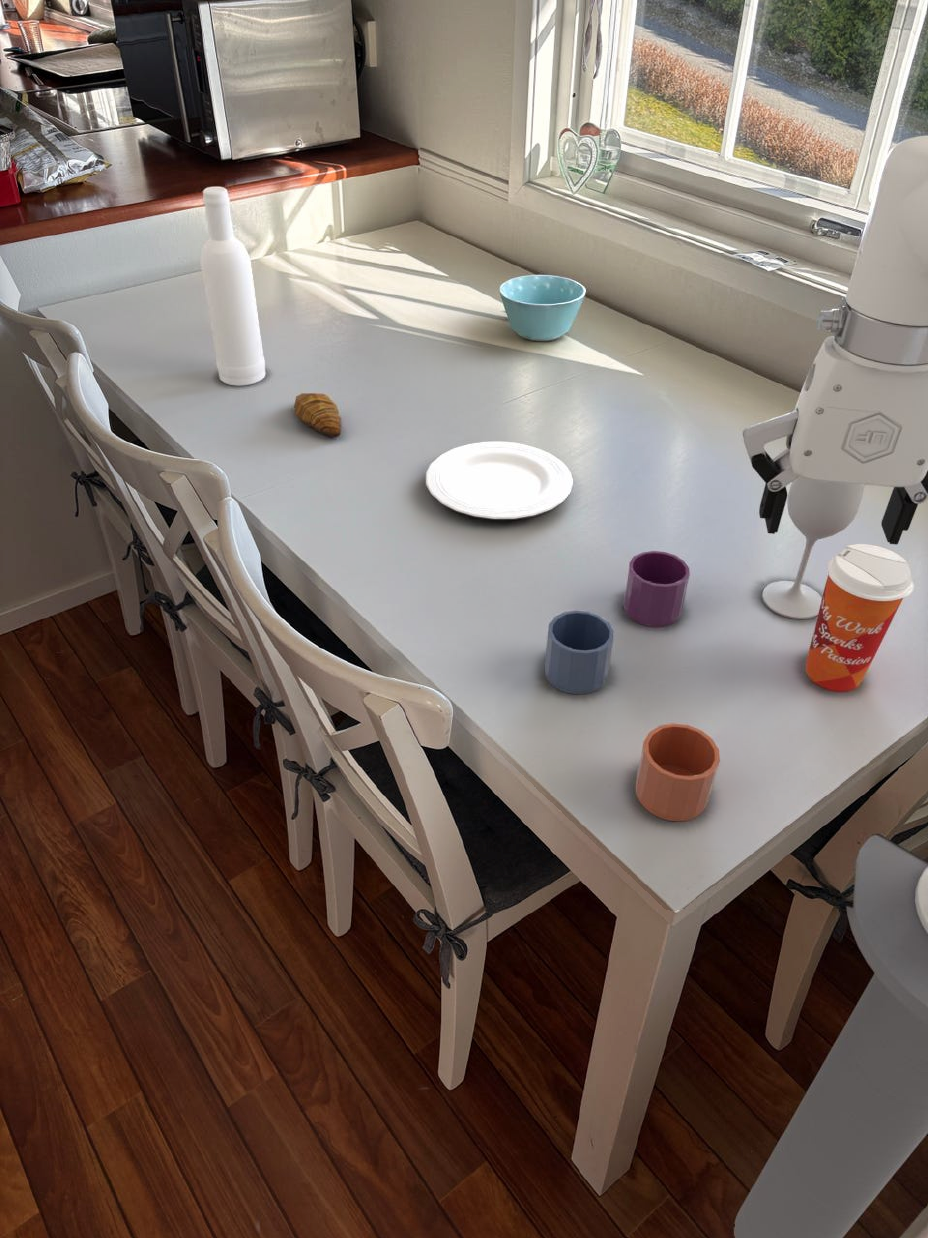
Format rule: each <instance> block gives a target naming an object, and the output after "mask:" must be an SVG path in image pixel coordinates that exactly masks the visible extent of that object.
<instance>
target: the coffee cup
mask: <svg viewBox="0 0 928 1238" xmlns="http://www.w3.org/2000/svg"><path fill="white" fill-rule="evenodd" d="M826 571H827V577H826V582H825V584H824V588H823V592H822V596H821V598H822V600H821V604H820V609H819V613H818V615H817V616H816V617H817V618H816V621H815V624H814V625H815V626H814V629H813V633H812V637H811V641H810V644H809V649H808V652H807V653H808V654H807V658H806V663H805V672H806V675H807V676H808V678H809V679H810V680H811V681H812V682H813V683H814V684H816V685H817V686H819V687H821V688H823V689H825V690H828V691H831V692H838V693H845V692H846V693H847V692H851V691H854V690H856V689H857V688H858V687H859V686H860V685H861V683H862V682H863V680H864V678H865V676H866V674H867V672H868V670H869V668H870V666H871V664H872V662H873V660H874V659H875V656H876V654H877V652H878V650H879V648H880V646H881V644H882V642H883V640H884V639H885V636H886V634H887V632H888V630H889V628H890V626H891V624H892V622H893V620H894V618H895V616H896V614H897V612H898V609H899V608H900V606H901V604H902V601H903V600H904V598H907V597H909V596H910V595H911V594H912V593H913V591H914V588H915V585H914V582H913V576H912V575H911V568H910V565H909V564H908V562H907V561H906V559H904V558H903V557H902V556H901V555H899V554H897V553H896V552H895V551H892V550H890V549H888V548H885V547H882V546H878V545H874V544H866V543H857V544H849V545H847V546H845V547H844V548H842V550H840V551H839V552H837V553H836V554H835V555H834V556H832V557H831V558H830V559H829V561H828V563H827V565H826Z"/></svg>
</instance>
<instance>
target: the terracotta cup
mask: <svg viewBox="0 0 928 1238" xmlns="http://www.w3.org/2000/svg"><path fill="white" fill-rule="evenodd" d="M720 756H721V755H720V749H719V747H718V746H717V744H716V743H715V741H714V739H713V738H712V737H711V736H709V735H708V734H707V733H706V732H704V731H703V730H701V729H699V728H697V727H694V726H692V725H689V724H685V723H684V724H683V723H675V722H673V723H667V724H661V725H658V726H656V727H655V728H653V729H652V730H650V731H649V732H648V733H647V734H646V736H645V738H644V740H643V743H642V749H641V752H640V757H639V758H640V759H639V763H638V767H637V773H636V778H635V787H634V788H635V789H634V790H635V795H636V798H637V800H638V802H639V804H641V806H642V807H643V808H644V809H645V810H646V811H648V812H649V813H650V814H651V815H653V816H655V817H656V818H660V819H662V820H666V821H670V822H686V821H690V820H693V819H695V818H697V817H699V816H700V815H701V814H702V813H703V812H704V811H705V809H706V808H707V805H708V802H709V800H710V797H711V793H712V790H713V787H714V783H715V780H716V776H717V773H718V769H719V766H720V762H721V757H720Z"/></svg>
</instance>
